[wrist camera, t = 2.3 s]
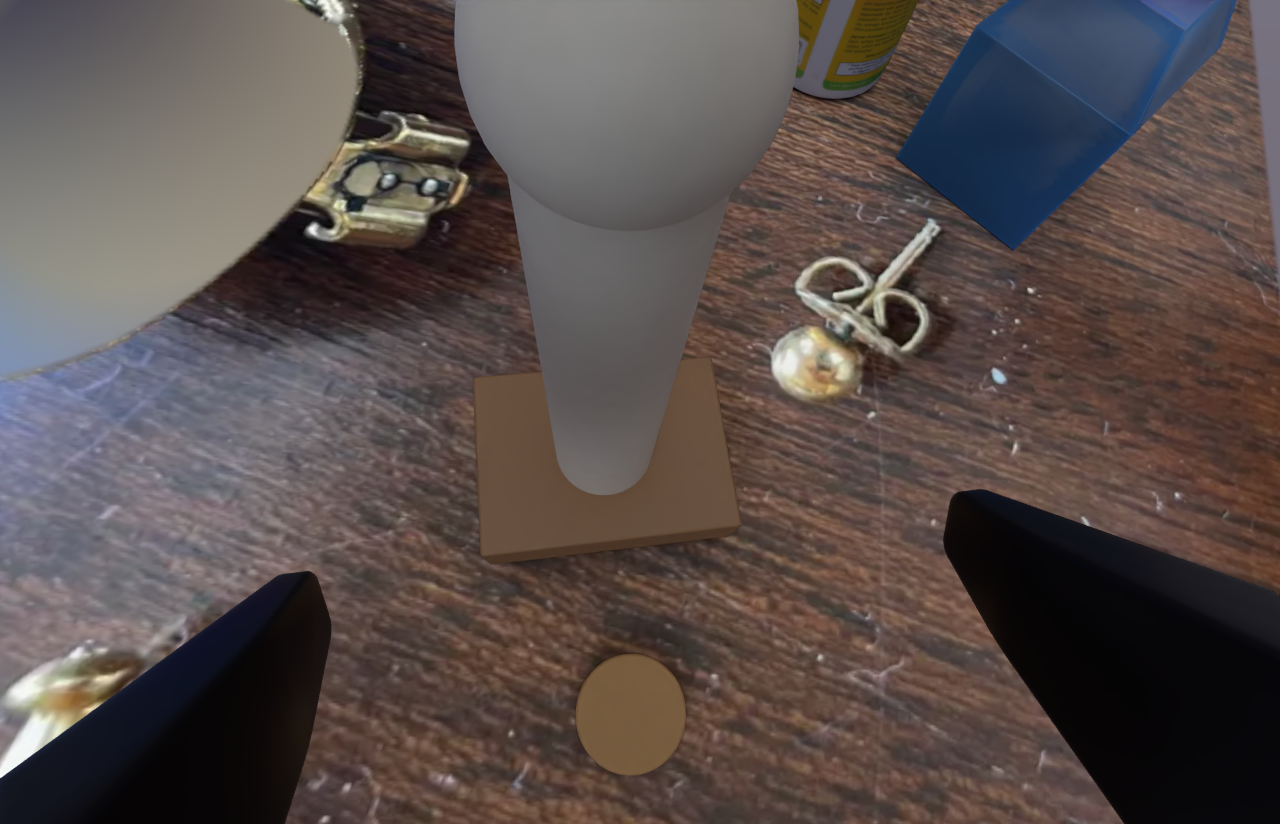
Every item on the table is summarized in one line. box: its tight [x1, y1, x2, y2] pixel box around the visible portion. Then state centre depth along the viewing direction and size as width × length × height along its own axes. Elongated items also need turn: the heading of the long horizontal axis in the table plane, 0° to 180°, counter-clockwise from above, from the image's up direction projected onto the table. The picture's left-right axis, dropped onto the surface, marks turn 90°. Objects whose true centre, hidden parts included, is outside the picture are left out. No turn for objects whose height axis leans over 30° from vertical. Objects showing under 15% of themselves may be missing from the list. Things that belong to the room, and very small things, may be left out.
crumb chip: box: [576, 653, 686, 775], centre depth 19 cm, size 3×3×1 cm
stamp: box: [455, 0, 799, 565], centre depth 13 cm, size 5×7×18 cm
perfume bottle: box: [896, 0, 1237, 250], centre depth 22 cm, size 6×6×12 cm
